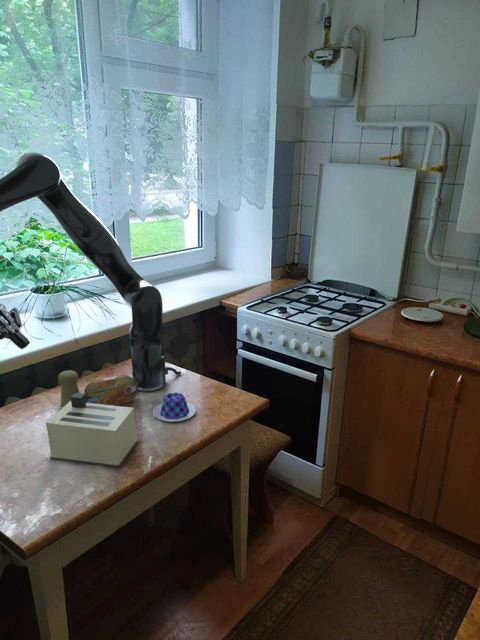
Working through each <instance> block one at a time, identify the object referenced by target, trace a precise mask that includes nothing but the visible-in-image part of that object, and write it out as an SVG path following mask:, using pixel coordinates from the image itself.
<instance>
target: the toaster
mask: <svg viewBox="0 0 480 640" xmlns="http://www.w3.org/2000/svg"><path fill="white" fill-rule="evenodd" d="M135 411H136V410H135V407H129V406H122V405H117V406H112V405H103V404H94V403H86V405H85V406H84V407H83V408H75V407H72V404H71V401H70V402H69V403H67V404H66V405H65V406H64V407H63V408H62V409H61V408H60V410H59V411H57V412H56V413H55V414H54V415H53V416H52V417H51V418H49V420H47V421H46V423H45V425H46V431H47V438H48V445H49V451H50V456H49V458H50V459H49V460H54V461H61V462H68V463H77V464H83V465H93V466H99V467H109V468H116V469H120V468H121V466H122V465H123V464H124V462H125V461H126V460H127V458H128V456H129V455H130V454H131V453H132V451H133V450H134V448H135V447H136V446H137V444H138V443H139V440H138V439H137V425H136V412H135Z"/></svg>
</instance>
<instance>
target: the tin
mask: <svg viewBox="0 0 480 640" xmlns="http://www.w3.org/2000/svg"><path fill="white" fill-rule="evenodd" d="M83 394H85V396H86V403H94V404H103V405H112V406H122V405H127V404H130V403H131V402H133V401H134V400H135V399H136V398H137V396H138V394H139V391H138V385H137V383H136V381H135V380H134V379H133V377H131V376H130V375H128V374H127V375H126V374H120V375H115V376H110V377H104V378H98V379H94V380H92V381H90V382H89V383H88V384H87V385H86V387H85V389H84V393H83Z"/></svg>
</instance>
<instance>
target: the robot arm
mask: <svg viewBox="0 0 480 640" xmlns="http://www.w3.org/2000/svg"><path fill="white" fill-rule="evenodd" d="M33 198H37V199H38V200H39V201H40V202H41V203H42V204H43V205H44V206H45V207H46V208H47V209H48V210H49V211H50V212H51V214H52V215H53V216H54V217H55V219H56V220H57V222H58V224H59V225H60V226H61V228H62V229H63V231H64V232H65V234H66V235H67V236H68V237H69V240H71V241H72V242H73V243H74V245H75V247H76V248H78V250H79V251H80V252H81V253H82V254H83V255H84V257H85V258H86V259H87V260H88V261H89V262H90V263H91V264H92V265H93V266H95V268H96V269H97V270H98V271H99V272H101V273H102V274H103V275H104V276H105V277H106V278H107V279H108V280H109V281H110V283H111V284H112V285H113V287H114V288H115V289H116V291H117V292H118V294H119V295H120V297H121V298H122V299H123V301H124V302H125V304H126V305H127V306H128V307H129V308H130V310H131V324H130V325H129V327H128V331H129V344H130V357H131V374H132V378H133V379H134V380H135V381H136V383H137V385H138V392H142V393H143V392H144V393H149V392H150V393H151V392H156V391H158V390H161V389H162V388H163V387H164V386H166V385H167V380H166V376H167V375H169V371H170V372H173V373H174V374H175V375H177V376H179V375H181V374H182V372H181V370H179V371H177V369H175V368H174V367H171V366H166V358H165V357H164V356H163V352H162V351H163V349H162V327H163V321H164V319H163V318H164V317H163V316H164V315H163V313H164V311H163V308H164V307H163V298H162V294H161V291H160V290H159V289H158V288H157V287H155V286H154V285H152V284H151V283H149V282H148V281H147V280H146V279H144V278H143V277H142V276H141V275H140V274H139V273H138V272H137V271H136V270H135V269H134V267H133V266H131V263H129V261H128V260H127V258H126V256H125V254H124V252H123V250H122V248H121V246H120V245H119V243H118V241H117V240H116V238H115V237H114V236H113V234H112V233H111V232H110V230H109V229H108V228H107V227H106V226H105V225H104V223H103V222H102V221H101V220H100V218H98V216H97V215H95V214H94V213H93V212H92V211H91V210H90V209H89V208H88V207H87V206H86V205H85V204H84V203H82V201H81V200H80V199H78V198H77V196H76V195H75V194H74V193H73V192H72V190H71V189H70V188H69V186H68V185H67V184H66V182H65V180H63V178H62V176H61V171H60V167H59V166H58V164H57V163H56V162H55V161H54V160H53V159H52V158H50V157H49V156H48V155H45V154H44V153H40V152H35V151H34V152H27V153H24V154H23V155H21V156H20V157H19V159H18V161H17V163H16V166H15V168H14V169H12V170H11V171H10V172H9V173H7V174H6V175H4V176H2V177H0V213H1V212H3V211H5V210H7V209H9V208H11V207H14V206H16V205H18V204H21V203H22V202H25V201H28V200H30V199H33ZM22 326H23V323H22V319H21V316H20V313H19V310H18V308H17V307H13V308H7V307H6V306H5V305H4V304H3V303H1V302H0V340H1V341H2V340H4V339H6V340H10V341H11V343H13V344H14V345H15V346H16V347H17V348H19V349H20V350H24V349H26V348H27V347H28V346H29V344H30V343H31V341H30V340H29V338H28V337H27V336H25V334H23V333H22V331H20V329H21V328H22Z"/></svg>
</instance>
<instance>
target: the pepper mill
mask: <svg viewBox="0 0 480 640" xmlns="http://www.w3.org/2000/svg"><path fill="white" fill-rule="evenodd" d="M78 374H79V373H77V372H76V371H75V370H71V369H69V370H64V371H62V372H60V373H59V374H58V382H59V384H60V410H61V409H62V408H63V407H64V406H65V405H66V404H67V403H69V402H70V401H71V396H72V395H74V394H75V393H81V392H80V389H79V386H78V381H79V375H78Z"/></svg>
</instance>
